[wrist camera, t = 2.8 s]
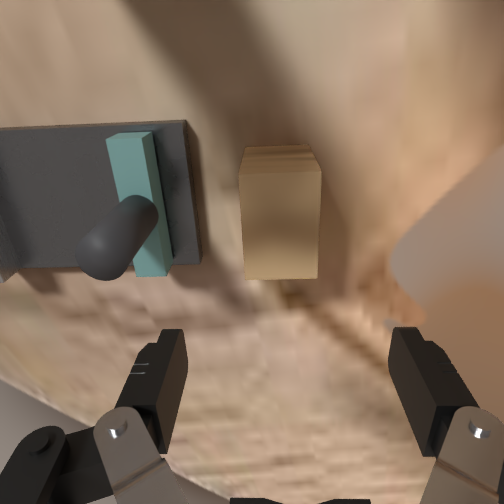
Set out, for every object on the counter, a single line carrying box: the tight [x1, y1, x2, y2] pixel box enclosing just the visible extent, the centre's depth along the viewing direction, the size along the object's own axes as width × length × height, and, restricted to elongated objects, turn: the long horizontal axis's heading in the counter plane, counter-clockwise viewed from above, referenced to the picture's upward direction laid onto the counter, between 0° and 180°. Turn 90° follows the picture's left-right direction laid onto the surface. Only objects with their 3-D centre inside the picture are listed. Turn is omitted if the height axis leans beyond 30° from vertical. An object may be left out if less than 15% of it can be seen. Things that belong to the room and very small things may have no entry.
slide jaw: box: [75, 132, 173, 281], centre depth 25 cm, size 11×3×10 cm, turn 3°
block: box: [238, 145, 322, 280], centre depth 27 cm, size 8×5×8 cm, turn 3°
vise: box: [0, 120, 203, 283], centre depth 30 cm, size 12×19×4 cm, turn 93°
